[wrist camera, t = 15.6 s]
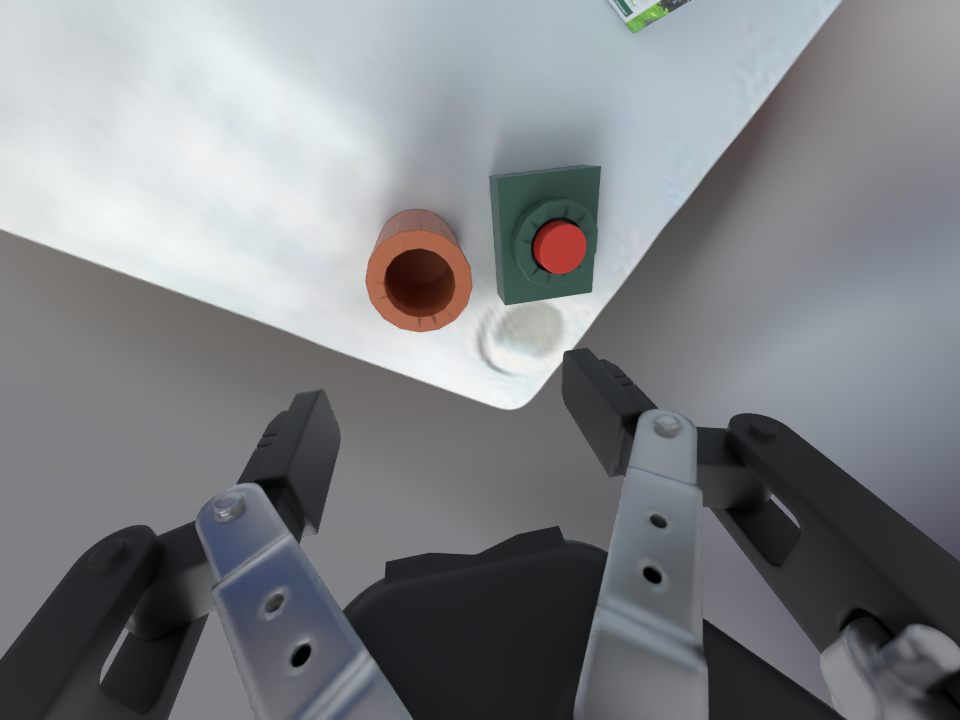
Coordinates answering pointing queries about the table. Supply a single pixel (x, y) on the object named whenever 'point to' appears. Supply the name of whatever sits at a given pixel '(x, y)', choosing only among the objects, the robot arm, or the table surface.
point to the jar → (418, 273)
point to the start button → (560, 247)
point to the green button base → (525, 212)
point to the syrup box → (644, 11)
